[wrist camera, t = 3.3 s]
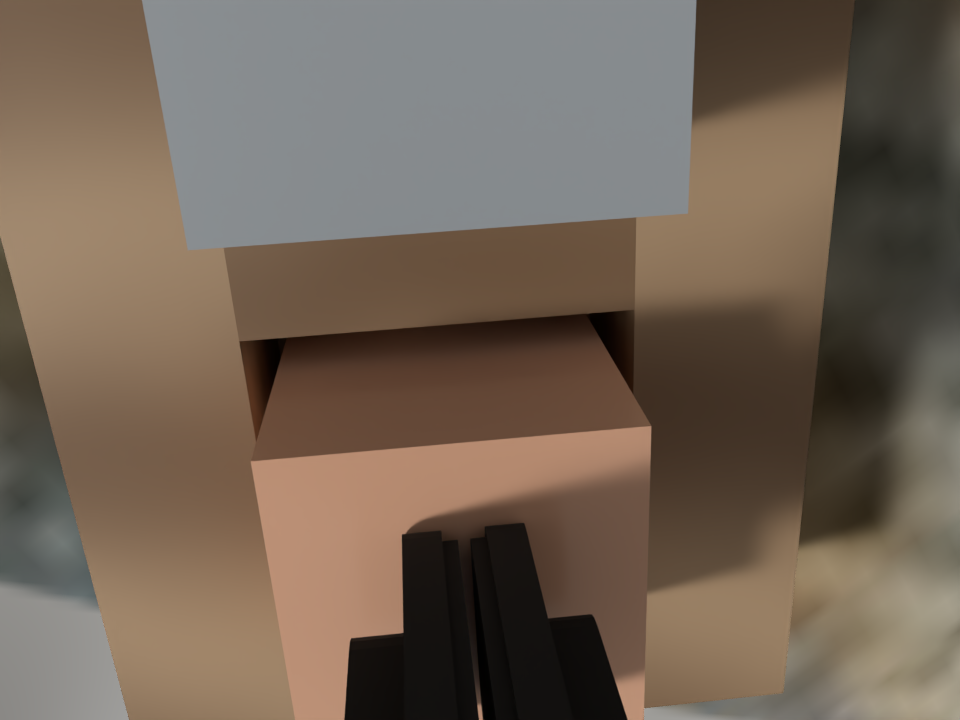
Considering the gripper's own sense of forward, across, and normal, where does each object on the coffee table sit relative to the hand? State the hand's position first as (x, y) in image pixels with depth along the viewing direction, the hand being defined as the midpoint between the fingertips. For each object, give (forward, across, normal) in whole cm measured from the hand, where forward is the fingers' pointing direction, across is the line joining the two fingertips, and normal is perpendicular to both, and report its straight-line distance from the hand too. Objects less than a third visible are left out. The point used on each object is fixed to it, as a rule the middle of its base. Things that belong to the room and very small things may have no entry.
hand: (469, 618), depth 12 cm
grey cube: (+4, 0, -8) cm, 9 cm away
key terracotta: (+5, 0, 0) cm, 5 cm away
